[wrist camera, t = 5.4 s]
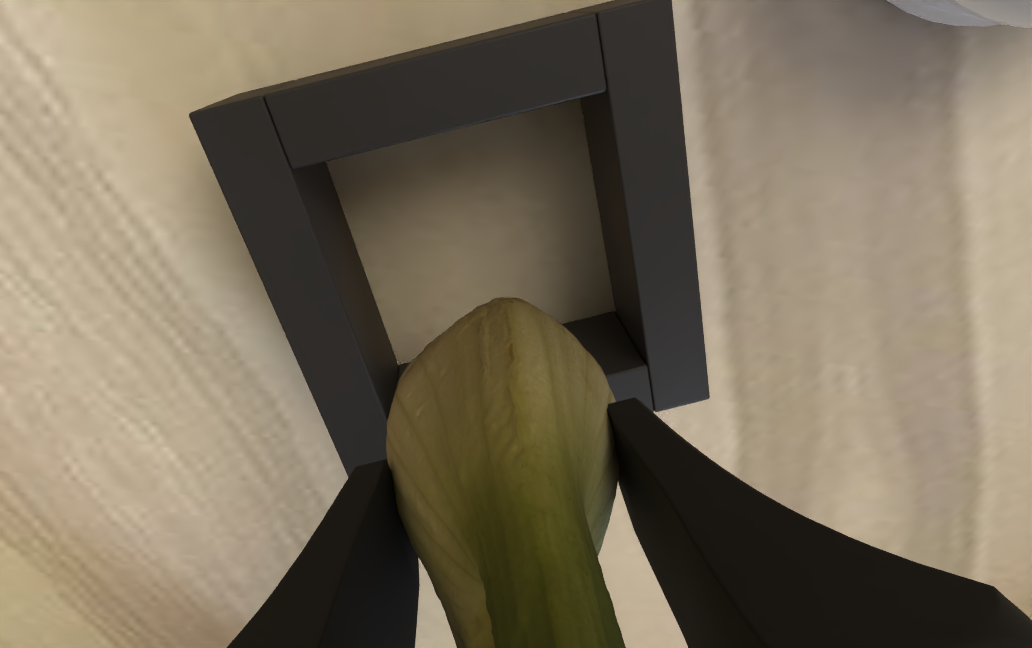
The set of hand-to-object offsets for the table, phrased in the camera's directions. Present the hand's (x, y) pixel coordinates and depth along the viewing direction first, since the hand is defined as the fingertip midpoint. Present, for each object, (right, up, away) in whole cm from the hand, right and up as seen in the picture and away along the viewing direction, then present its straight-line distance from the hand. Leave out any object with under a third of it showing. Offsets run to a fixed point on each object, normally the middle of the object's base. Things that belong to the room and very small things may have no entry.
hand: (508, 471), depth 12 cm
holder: (-1, +6, +8) cm, 10 cm away
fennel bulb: (0, +2, +3) cm, 4 cm away
